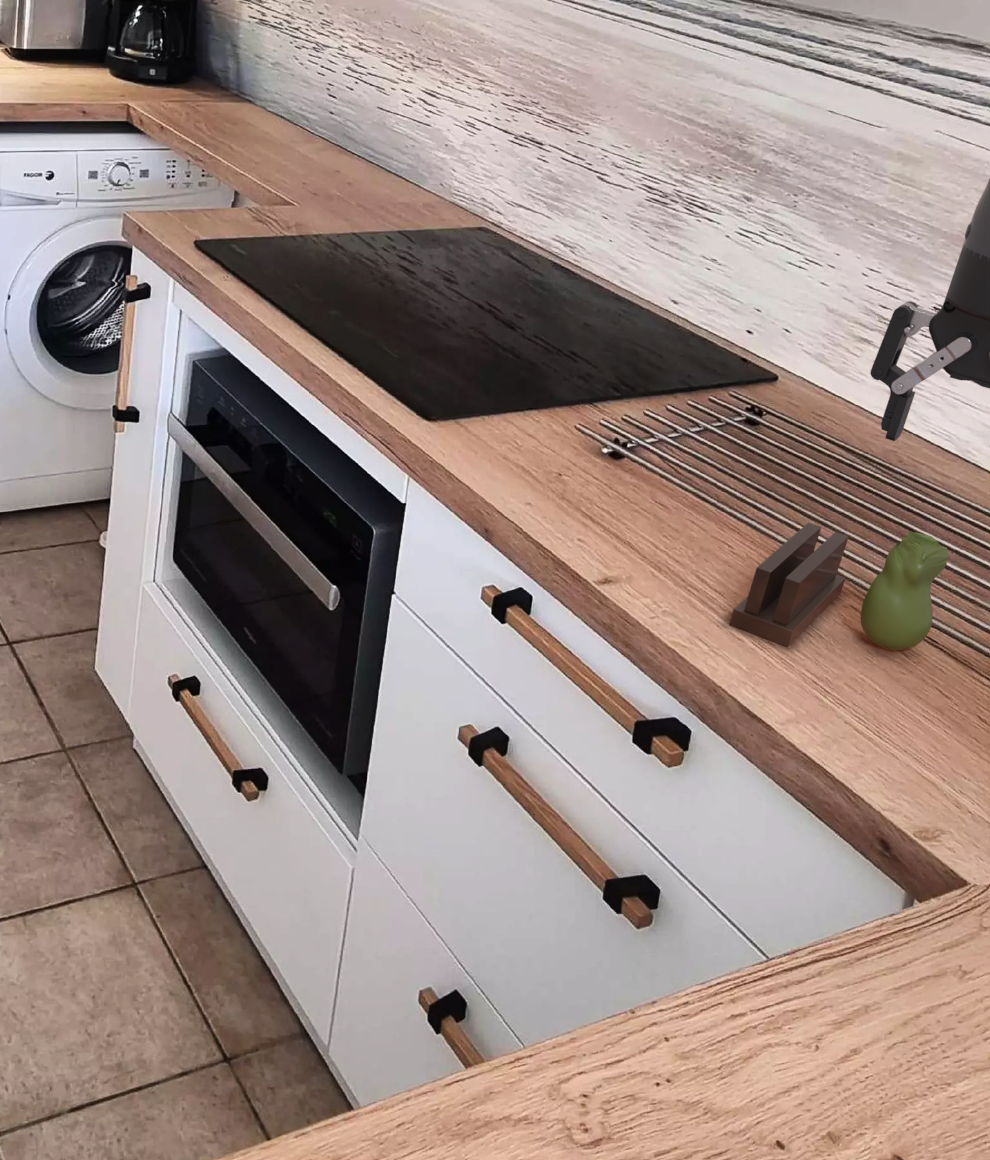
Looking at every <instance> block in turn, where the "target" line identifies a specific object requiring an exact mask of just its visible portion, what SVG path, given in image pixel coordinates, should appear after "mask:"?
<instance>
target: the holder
mask: <svg viewBox="0 0 990 1160" xmlns="http://www.w3.org/2000/svg"><path fill="white" fill-rule="evenodd" d="M821 530H822V526H820V525H817V524H814V523H811V522H807V523H806V524H804V526H803V527H801V528H800V529H799V530H798V531H797V532H795V534H794V535H792V536H791V537H789V538H788V540H786V541H785V542H784V543H783V544H782V545H781V546H779V547H778V548H777V549H776V550H775V551H773V552H772V553H771V554H770V555H769V556H768V557H766V559H764V560H763V561H762V562H761V563H760V564H759V565H758V566H757V567H756V568H755V571H754V575H753V579H752V582H751V585H750V588H749V592H748V595H747V596H746V597H745V599H743V600H742V602H740V603H739V604H738V605H736V607H735V608H733V611H732V615H731V617H730V621H729V624H728V625H729V626H732V627H734V628H737V629H739V630H742V631H745V632H747V633H750V634H753V635H754V636H758V637H760V638H763V639H765V640H767V641H768V640H769V641H771V642H773V643H776V644H779V645H781V646H784V647H787V648H789V646H790V645H792V644H793V642H794V641H795V640H796V639H797V638H798V637H799V636H800V635H801V634H802V633H803V632H804V631H805V630H806V629H807V628H809V626H810V624H812V623H813V622H814V621H815V620H816V619H817V618H818V616H819V615H821V613H823V612H824V611H825V609H827V607H828V606H830V604H831V603H833V601H835V599H836V598H837V597H838V596H839V595H840V594H841V593H842V591H843V587H844V584H845V581H846V577H844V576H841V575H838V571H839V569H840V565H841V562H842V560H843V555H844V553H845V549H846V546H847V543H848V541H849V535H847V534H844V533H840V532H839V531H835V532H833V534H831V535H830V536H829V537H828V538H827V539H826V540H825V541H824V542H823V543H822V544H821V545H819V546H818V547H817V548H816V546H817V544H818V540H819V537H820V533H821Z"/></svg>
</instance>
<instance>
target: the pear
mask: <svg viewBox="0 0 990 1160" xmlns="http://www.w3.org/2000/svg"><path fill="white" fill-rule="evenodd" d="M949 557H950V554H949V551H948V547H946V546H943V545H942V544H941V543H939V542H938V541H937V539H935V538H934V537H933V536H932V535H930V534H929V535H928V534H925V533H921V532H917V531H915V532H914V531H912V530H910V531H909V532H908V534H907V535H906V536H905V537H902V539H901V541H899V542H897V543H896V544H895V545H893V547H892V548H891V549H890V550H889V552H888V554H887V555H886V558H885V562H884V566H883V568H882V570H881V571H880V572H879V573H878V574H877V576H876V577H875V578H874V579H873V581H872V582H871V585H870V586H869V588H868V590H867V591H866V594H865V597H864V599H863V602H862V606H861V610H860V625H861V629H862V631H863V632H864V634H865V636H866V637H867V639H869V640H870V641H871V642H872V643H873V644H875V645H877V646H879V647H881V648H883V649H887V650H889V651H906V650H910V649H912V648H914V647H916V646H918V645H919V644H921V643H922V642H923V641H924V640H925V639H926V637H928V635H929V633H930V631H931V629H932V625H933V619H934V618H933V616H934V613H933V612H934V611H933V602H932V601H933V600H932V595H931V587H932V583H933V581H934V580H935V579H936V578H937V577H938V576H939V575H940V574H941V573H942V572H943V570H944V569H945V568H946V566H947V563H948V561H949Z"/></svg>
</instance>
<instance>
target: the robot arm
mask: <svg viewBox="0 0 990 1160" xmlns="http://www.w3.org/2000/svg"><path fill="white" fill-rule="evenodd" d="M925 327H927V328H928V332H929V335H930V337H931V340H932V343H933V346H934V349H935V351H934V353H932V354H931V355H929V356H927V357H926V358H925V359H923V360H922V361H920V362H918V363H917V364H916V365H914V366H912V367H911V368H910V369H908V370H907V371H906V370H904V369H902V368H901V367H899V366H898V362H899V360H900V357H901V354H902V352H903V349H904V347H905V344H906V341H907V339H908V337H912V336H915V335H917V334H918V333H919V332H920V331H921V329H922V328H925ZM942 369H943V370H944V372H945V373H946V374H947V375H949V378H950V379H954V380H957V381H968V382H969V381H970V382H973V383H975V384H977V385H979V386H980V387H983V388H986V389H990V178H989V179H988V180H987V183H986V186H985V188H984V190H983V191H982V194H981V196H980V198H979V200H978V202H977V204H976V206H975V209H974V212H973V214H972V217H971V221H970V222H969V224H968V225H967V227H966V229H965V233H964V241H963V244H962V248H961V250H960V253H959V257H958V260H957V261H956V265H955V269H954V271H953V274H952V278H951V280H950V283H949V286H948V289H947V292H946V296H945V298H944V301H943V304H942V306H941V307H940V309H939V310H938V312H932V311H930V310H926V309H923V308H920V307H919V306H918V304H917V303H916V302H914V301H906V302H904V303H902V304H901V305H899V306H898V307H896V309H894V310H893V312H892V314H891V317H890V319H889V323H888V326H887V328H886V331H885V333H884V336H883V338H882V340H881V343H880V346H879V349H878V350H877V353H876V355H875V358H874V361H873V363H872V367H871V368H870V373H869V374H870V377H871V378H873V380H875V381H880V382H882V383H883V384H885V385H886V386H887V387H888V388H889V392H890V394H889V398H888V400H887V404H886V407H885V410H884V412H883V416H882V419H881V421H880V426H881V430H882V431H884V432H886V434H885V439H886V440H889V441H892V442H896V441H897V440H898V439H899V438H901V436H902V433H903V431H904V428H905V425H906V421H907V418H908V416H909V413H910V411H911V406H912V404H913V401H914V398H915V394H916V391H913V390H914V387H916V386H917V385H919V384H921V383H922V382H924V381H925V380H926V379H928V378H930V377H932V376H933V375H934V374H935V373H937V372H939V371H941V370H942Z"/></svg>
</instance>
